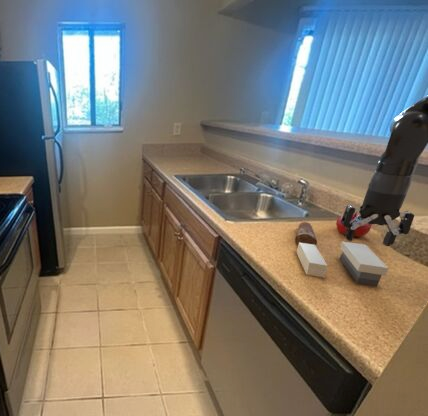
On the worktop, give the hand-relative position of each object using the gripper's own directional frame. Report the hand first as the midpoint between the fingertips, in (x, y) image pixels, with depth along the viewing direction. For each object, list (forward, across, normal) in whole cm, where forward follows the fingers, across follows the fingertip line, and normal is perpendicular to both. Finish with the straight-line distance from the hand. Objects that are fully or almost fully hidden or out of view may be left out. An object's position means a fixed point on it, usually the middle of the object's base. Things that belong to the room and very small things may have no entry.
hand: (367, 242), depth 80 cm
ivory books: (+10, -12, 0) cm, 16 cm away
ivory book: (+6, 0, 0) cm, 6 cm away
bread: (+10, -10, +20) cm, 25 cm away
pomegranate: (+10, +8, +31) cm, 34 cm away
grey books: (+10, 0, 0) cm, 10 cm away
